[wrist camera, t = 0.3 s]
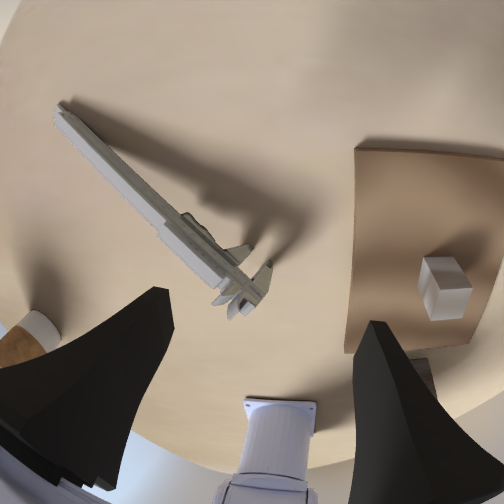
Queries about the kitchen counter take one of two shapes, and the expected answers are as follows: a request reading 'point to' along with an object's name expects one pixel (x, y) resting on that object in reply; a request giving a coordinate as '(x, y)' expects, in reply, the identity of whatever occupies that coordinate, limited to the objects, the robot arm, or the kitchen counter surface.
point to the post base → (424, 244)
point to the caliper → (173, 223)
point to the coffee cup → (28, 340)
